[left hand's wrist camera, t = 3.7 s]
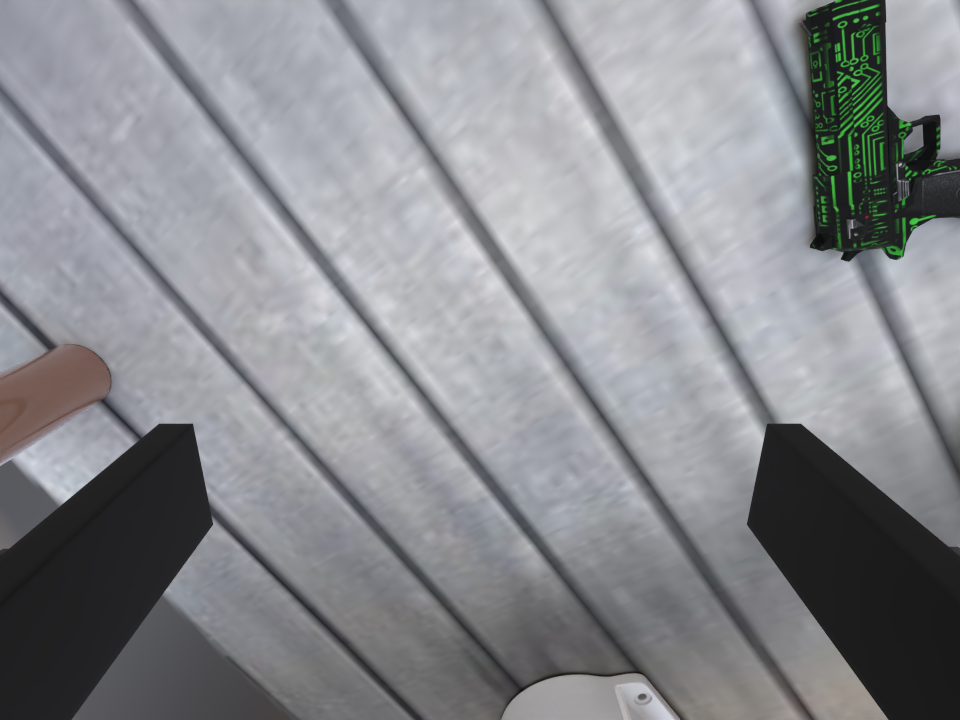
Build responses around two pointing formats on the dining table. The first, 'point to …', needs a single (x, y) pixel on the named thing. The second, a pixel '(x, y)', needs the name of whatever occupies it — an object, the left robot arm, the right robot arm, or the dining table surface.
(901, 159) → the handgun
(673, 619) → the dining table surface
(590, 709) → the right robot arm
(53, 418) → the jar
